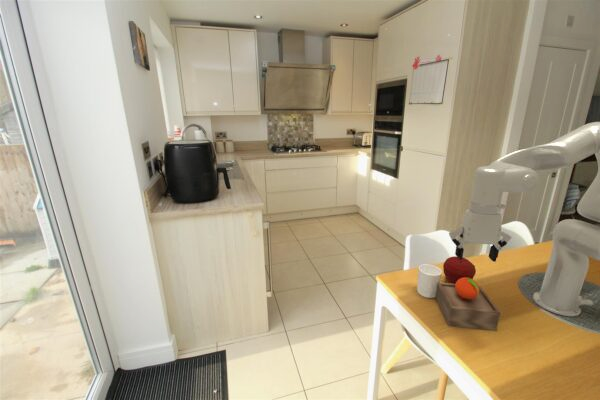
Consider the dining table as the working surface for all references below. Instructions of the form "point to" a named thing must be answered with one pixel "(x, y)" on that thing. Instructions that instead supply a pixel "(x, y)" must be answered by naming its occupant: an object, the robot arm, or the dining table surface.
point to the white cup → (428, 280)
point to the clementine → (467, 288)
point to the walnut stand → (466, 308)
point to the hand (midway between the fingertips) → (475, 258)
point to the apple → (458, 269)
